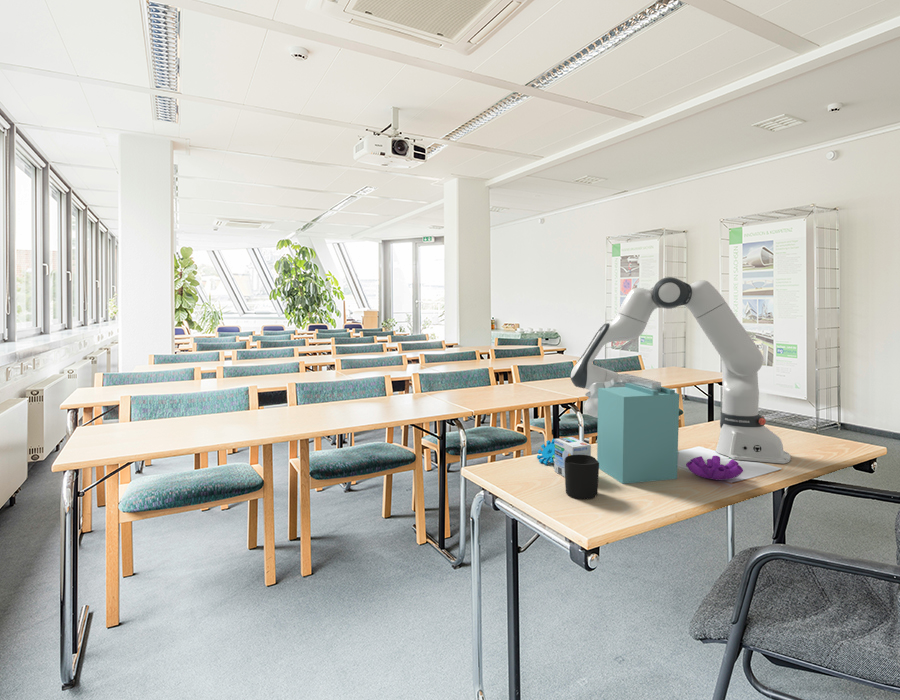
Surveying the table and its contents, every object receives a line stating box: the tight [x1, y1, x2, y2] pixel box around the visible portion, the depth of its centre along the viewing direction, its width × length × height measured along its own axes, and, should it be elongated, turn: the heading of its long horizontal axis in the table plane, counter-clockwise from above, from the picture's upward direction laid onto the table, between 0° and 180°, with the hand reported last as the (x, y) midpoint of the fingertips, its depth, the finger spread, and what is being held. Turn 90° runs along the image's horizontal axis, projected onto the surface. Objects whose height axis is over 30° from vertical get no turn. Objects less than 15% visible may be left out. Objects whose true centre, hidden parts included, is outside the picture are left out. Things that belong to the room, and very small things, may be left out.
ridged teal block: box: [596, 383, 680, 485], centre depth 164 cm, size 16×18×27 cm
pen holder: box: [564, 455, 600, 500], centre depth 148 cm, size 9×9×10 cm
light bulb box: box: [553, 436, 592, 478], centre depth 164 cm, size 11×7×11 cm, turn 21°
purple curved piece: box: [686, 455, 744, 481], centre depth 158 cm, size 11×15×10 cm
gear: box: [536, 438, 556, 466], centre depth 177 cm, size 11×6×10 cm
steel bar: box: [618, 373, 662, 392], centre depth 169 cm, size 20×3×3 cm, turn 11°
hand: (628, 380), depth 175 cm, fingers open, 8 cm apart
